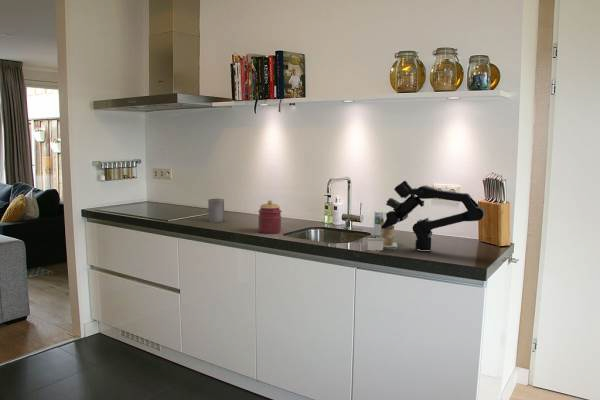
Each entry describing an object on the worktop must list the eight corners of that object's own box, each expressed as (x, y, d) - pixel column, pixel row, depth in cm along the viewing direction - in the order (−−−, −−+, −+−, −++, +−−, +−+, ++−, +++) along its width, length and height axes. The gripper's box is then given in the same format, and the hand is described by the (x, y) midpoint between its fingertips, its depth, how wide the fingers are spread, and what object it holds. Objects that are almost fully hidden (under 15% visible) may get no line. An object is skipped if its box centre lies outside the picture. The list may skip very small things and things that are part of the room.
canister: (284, 230, 262) (284, 199, 260) (277, 234, 250) (277, 202, 248) (262, 229, 266) (262, 198, 263) (254, 233, 253) (254, 201, 251)
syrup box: (373, 237, 245) (374, 210, 243) (379, 236, 249) (380, 209, 247) (382, 239, 241) (383, 211, 239) (388, 237, 245) (389, 210, 243)
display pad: (396, 244, 229) (396, 242, 229) (397, 248, 220) (397, 246, 220) (377, 243, 230) (377, 241, 230) (378, 247, 221) (378, 245, 221)
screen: (382, 250, 215) (383, 238, 214) (383, 251, 213) (383, 239, 212) (367, 250, 216) (367, 237, 215) (367, 251, 214) (367, 238, 213)
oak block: (393, 243, 226) (394, 225, 225) (390, 245, 222) (391, 227, 220) (383, 242, 228) (384, 224, 227) (380, 244, 224) (381, 226, 223)
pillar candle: (213, 219, 296) (213, 196, 294) (227, 220, 293) (226, 197, 291) (205, 222, 287) (205, 198, 285) (219, 223, 284) (218, 198, 282)
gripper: (402, 191, 228) (380, 211, 235) (391, 194, 212) (367, 216, 218) (417, 208, 225) (395, 228, 232) (407, 213, 209) (383, 234, 216)
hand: (385, 226), depth 224 cm, fingers open, 9 cm apart
